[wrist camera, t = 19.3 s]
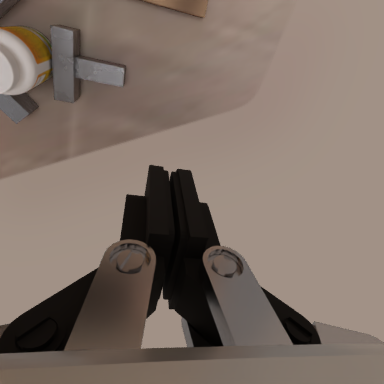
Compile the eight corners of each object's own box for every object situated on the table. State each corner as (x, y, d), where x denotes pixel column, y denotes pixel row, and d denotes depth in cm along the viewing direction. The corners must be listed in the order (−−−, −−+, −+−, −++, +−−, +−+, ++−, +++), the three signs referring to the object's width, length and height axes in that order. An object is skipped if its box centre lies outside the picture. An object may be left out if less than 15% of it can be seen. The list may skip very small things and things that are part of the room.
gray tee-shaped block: (62, 93, 31) (54, 99, 28) (59, 24, 27) (50, 25, 25) (122, 104, 32) (120, 111, 30) (127, 41, 29) (125, 43, 26)
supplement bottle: (0, 19, 26) (-66, 18, 18) (57, 34, 28) (19, 39, 20) (7, 74, 29) (-48, 95, 21) (58, 86, 30) (25, 109, 22)
